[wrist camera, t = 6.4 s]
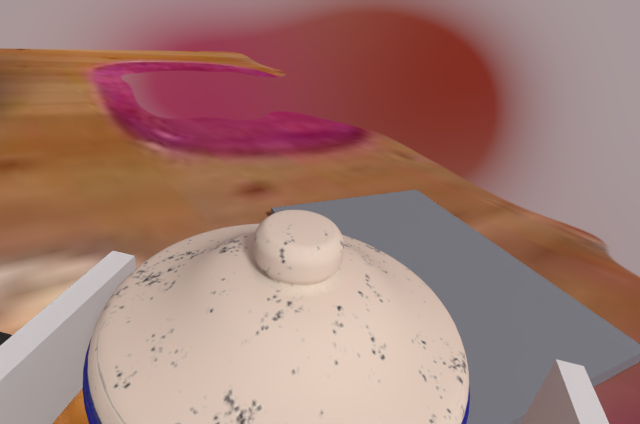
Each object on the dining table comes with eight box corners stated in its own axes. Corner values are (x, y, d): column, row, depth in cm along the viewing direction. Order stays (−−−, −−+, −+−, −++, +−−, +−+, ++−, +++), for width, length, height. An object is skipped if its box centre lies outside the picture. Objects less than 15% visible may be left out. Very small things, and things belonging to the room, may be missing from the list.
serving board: (270, 219, 32) (271, 207, 32) (413, 199, 39) (416, 189, 39) (458, 460, 18) (465, 446, 17) (638, 362, 24) (647, 349, 24)
